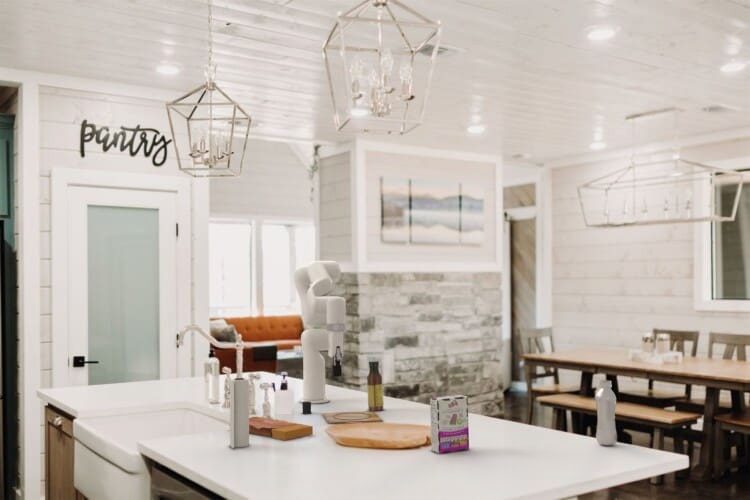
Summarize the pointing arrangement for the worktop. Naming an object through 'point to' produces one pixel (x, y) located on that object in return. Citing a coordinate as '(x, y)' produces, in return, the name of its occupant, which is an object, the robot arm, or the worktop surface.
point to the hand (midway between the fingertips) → (336, 374)
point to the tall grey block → (239, 412)
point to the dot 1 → (306, 407)
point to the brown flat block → (278, 428)
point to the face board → (352, 417)
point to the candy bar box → (449, 423)
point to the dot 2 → (332, 370)
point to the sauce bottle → (374, 387)
